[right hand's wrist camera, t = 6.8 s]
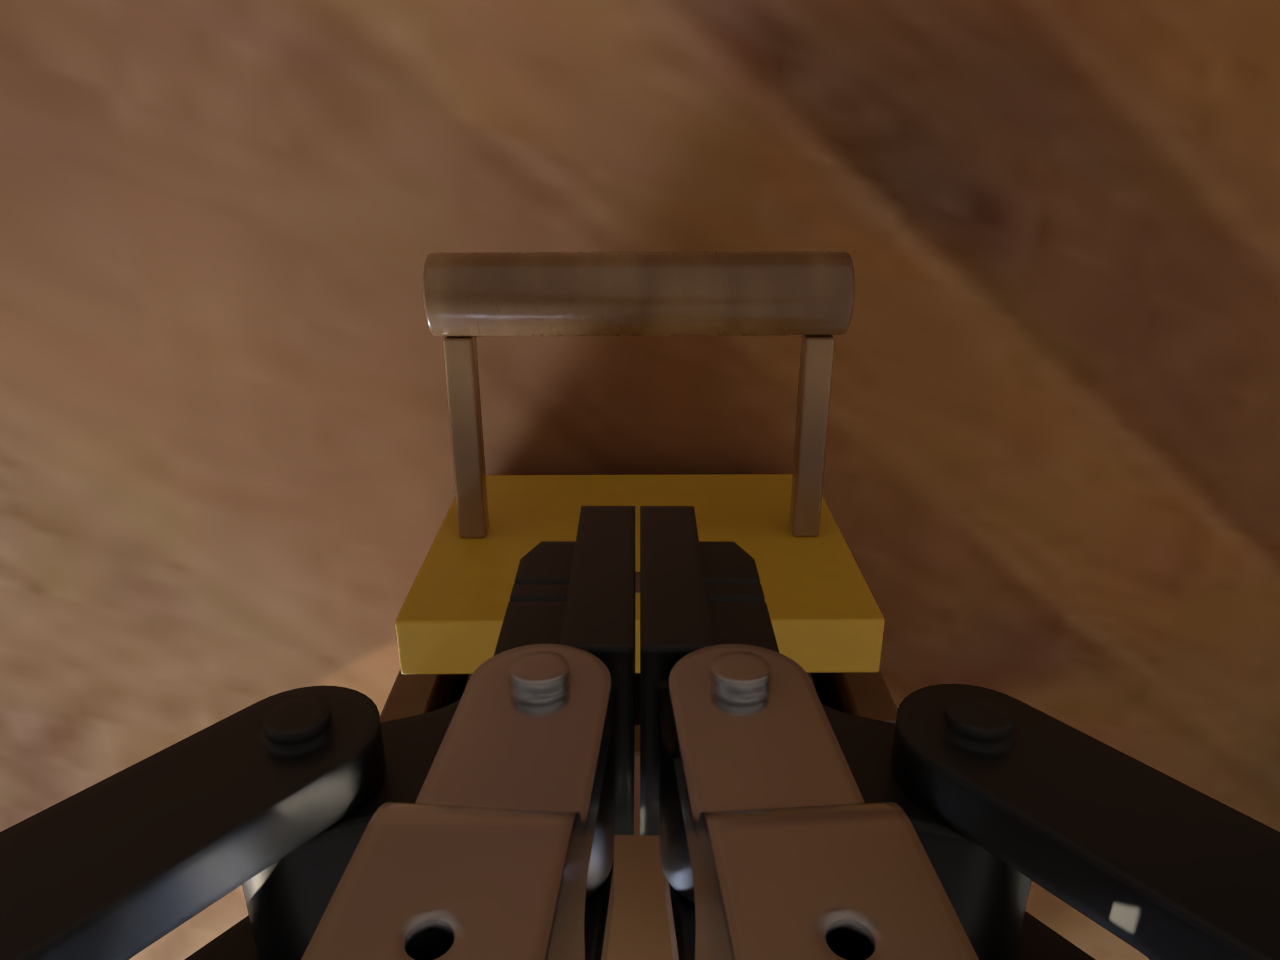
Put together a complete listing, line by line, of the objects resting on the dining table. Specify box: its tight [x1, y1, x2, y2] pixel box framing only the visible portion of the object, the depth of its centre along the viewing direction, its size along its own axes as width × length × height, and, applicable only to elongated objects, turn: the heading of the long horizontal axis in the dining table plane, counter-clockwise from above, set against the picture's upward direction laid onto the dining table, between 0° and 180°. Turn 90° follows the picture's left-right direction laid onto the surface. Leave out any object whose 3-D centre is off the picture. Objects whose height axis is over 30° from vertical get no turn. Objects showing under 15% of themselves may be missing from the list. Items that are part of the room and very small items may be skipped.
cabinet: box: [380, 669, 898, 960], centre depth 25 cm, size 19×10×9 cm, turn 0°
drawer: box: [395, 252, 885, 725], centre depth 22 cm, size 24×9×8 cm, turn 0°
